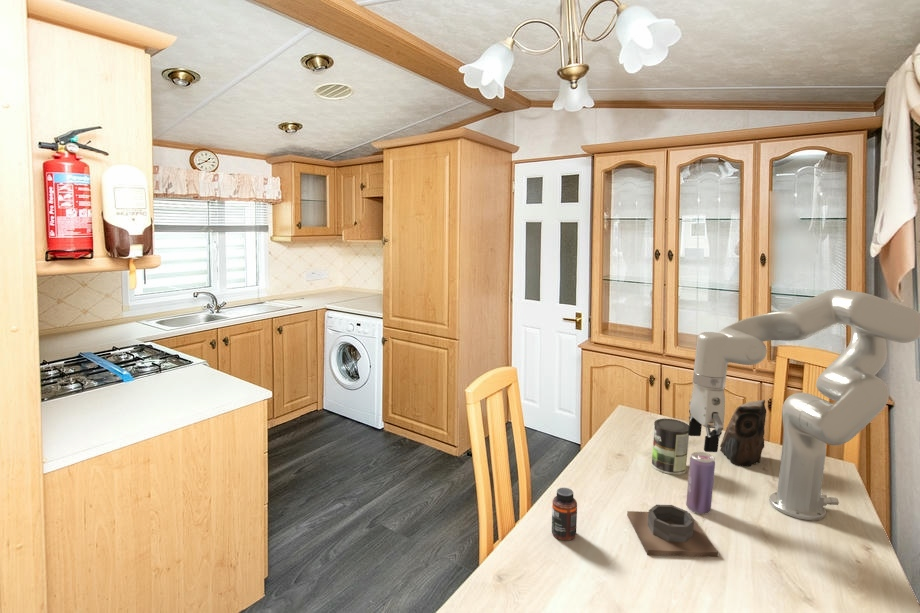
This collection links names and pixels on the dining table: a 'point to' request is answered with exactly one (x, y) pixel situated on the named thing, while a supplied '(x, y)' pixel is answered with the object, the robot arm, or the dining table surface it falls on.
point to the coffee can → (670, 446)
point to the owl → (745, 434)
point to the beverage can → (700, 482)
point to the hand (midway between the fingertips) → (702, 443)
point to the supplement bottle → (564, 514)
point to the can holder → (670, 532)
